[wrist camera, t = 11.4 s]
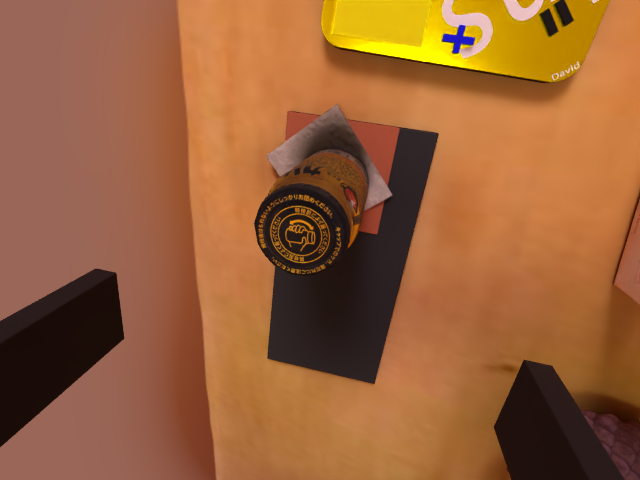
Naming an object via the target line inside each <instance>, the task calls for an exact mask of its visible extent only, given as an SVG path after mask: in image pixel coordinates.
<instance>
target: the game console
mask: <svg viewBox="0 0 640 480" xmlns="http://www.w3.org/2000/svg"><path fill="white" fill-rule="evenodd" d="M609 1H610V0H324V3H323V10H322V17H321V27H322V31H323V34H324V36H325V37H326V39H327V41H328V42H329V43H330V44H332V45H333V46H334V47H336V48H339V49H342V50H348V51H354V52H360V53H366V54H372V55H378V56H384V57H390V58H396V59H402V60H408V61H414V62H420V63H426V64H432V65H438V66H444V67H450V68H456V69H462V70H468V71H474V72H480V73H486V74H492V75H498V76H504V77H510V78H516V79H522V80H528V81H534V82H541V83H551V82H558V81H561V80H564V79H566V78H568V77H570V76H571V75H573V74H574V73H575V72H576V71H577V70H578V69H579V68H580V66H581V65H582V63H583V61H584V59H585V57H586V54H587V52H588V50H589V47H590V45H591V43H592V40H593V38H594V36H595V33H596V31H597V29H598V26H599V24H600V22H601V19H602V17H603V15H604V12H605V10H606V8H607V5H608V3H609Z"/></svg>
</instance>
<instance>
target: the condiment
mask: <svg viewBox="0 0 640 480" xmlns="http://www.w3.org/2000/svg"><path fill="white" fill-rule="evenodd" d="M266 157H267V158H268V160H269V161H270V163H271V164H272V166H273V167H274V168H275V170H276V171H277V173H278V175H279V176H280V177H281V178H280V179H279V180H278V181H277V182H276V183H275V184H274V185H273V187H272V188H271V190H270V192H269V194H268V196H267V197H266V198H265V200H264V201H263V202H262V204H261V205H260V207H259V210H258V213H257V216H256V219H255V223H254V225H255V230H256V236H257V242H258V244H259V246H260V248H261V250H262V251H263V253H264V254H265V256H266V257H267V258H268V259H269V260H270V262H272V264H273V265H275V266H277V267H279V268H281V269H282V270H284V271H285V272H287V273H289V274H293V275H299V276H311V275H316V274H319V273H322V272H324V271H326V270H329V269H331V268H332V267H334V266H335V265H336V264H337V263H338V262H339V261H340V259H341V258H342V257H343V256H344V254H345V252H346V250H347V249H348V248H349V247H350V246H351V245H352V243H353V241H354V240H355V238H356V236H357V234H358V232H359V228H360V226H361V223H362V217H363V214H364V211H365V210H367V209H369V208H371V207H372V206H374V205H376V204H378V203H380V202H381V201H383V200H385V199H387V198H388V197H390V196H392V193H391V192H390V190H389V188H388V187H387V185H386V183H385V182H384V180H383V178H382V177H381V175H380V174H379V172H378V170H377V169H376V167H375V165H374V164H373V162H372V160H371V159H370V157H369V155H368V154H367V152H366V151H365V149H364V147H363V146H362V144H361V143H360V141H359V139H358V138H357V136H356V134H355V133H354V131H353V129H352V128H351V126H350V124H349V123H348V121H347V120H346V118H345V116H344V115H343V113H342V111H341V110H340V108H339V106H338V105H337V104H336V105H335V106H333V107H332V108H330V109H329V110H328V111H327V112H325V113H324V114H322V115H321V116H320V117H318V118H317V119H316V120H314V121H313V122H311V123H310V124H309V125H307V126H306V127H305V128H303V129H302V130H301V131H299V132H298V133H296V134H295V135H294V136H292V137H291V138H290V139H288V140H287V141H285V142H284V143H283V144H281V145H280V146H279V147H277V148H276V149H274V150H273V151H272V152H270V153H269V154H268V155H266Z"/></svg>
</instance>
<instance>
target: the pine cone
mask: <svg viewBox="0 0 640 480" xmlns="http://www.w3.org/2000/svg"><path fill="white" fill-rule="evenodd" d="M581 412H582V413H583V415H584V417H585V418H586V420H587V421H588V423H589V424H590V426H591V427H592V429H593V431H594V432H595V434H596V435H597V437H598V438H599V440H600V442H601V443H602V445H603V446H604V448H605V449H606V451H607V452H608V454H609V456H610V457H611V459H612V460H613V462H614V463H615V465H616V466H617V468H618V470H619V471H620V473H621V474H622V476H623V477H624V479H625V480H640V424H639V423H637V422H635V421H631V420H628V421H620V420H619V419H618V418H617V417H616V416H614V415H612V414H597V413H595V412H593V411H591V410H581ZM506 470H507V471H508V468H507V469H506ZM508 472H509V471H508Z"/></svg>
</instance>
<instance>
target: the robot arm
mask: <svg viewBox="0 0 640 480" xmlns="http://www.w3.org/2000/svg"><path fill="white" fill-rule="evenodd" d="M123 339H124V332H123V324H122V316H121V308H120V300H119V292H118V284H117V275H116V273H115V272H109V271H105V270H101V269H94V270H92V271H90V272H89V273H87V274H85V275H83V276H81V277H80V278H78V279H76V280H74V281H72V282H70V283H69V284H67V285H65V286H63V287H61V288H60V289H58V290H56V291H54V292H52V293H51V294H49V295H47V296H45V297H43V298H42V299H40V300H38V301H36V302H34V303H32V304H31V305H29V306H27V307H25V308H23V309H21V310H20V311H18V312H16V313H14V314H12V315H11V316H9V317H7V318H5V319H3V320H1V321H0V447H1V446H2V445H3V444H4V443H6V442H7V441H8V440H9V439H10V438H11V437H12V436H14V435H15V434H16V433H17V432H18V431H19V430H20V429H22V428H23V427H24V426H25V425H26V424H27V423H28V422H30V421H31V420H32V419H33V418H34V417H35V416H36V415H38V414H39V413H40V412H41V411H42V410H43V409H44V408H45V407H47V406H48V405H49V404H50V403H51V402H52V401H53V400H55V399H56V398H57V397H58V396H59V395H60V394H62V393H63V392H64V391H65V390H66V389H67V388H68V387H69V386H71V385H72V384H73V383H74V382H75V381H76V380H77V379H78V378H80V377H81V376H82V375H83V374H84V373H85V372H87V371H88V370H89V369H90V368H91V367H92V366H93V365H95V364H96V363H97V362H98V361H99V360H100V359H101V358H102V357H104V356H105V355H106V354H107V353H108V352H109V351H111V349H113V348H114V347H115V346H116V345H117V344H118V343H120V342H121V341H122V340H123ZM494 429H495V432H496V435H497V438H498V441H499V444H500V447H501V450H502V453H503V456H504V459H505V462H506V465H507V468H508V471H509V474H510V477H511V480H625V479H624V477H623V476H622V474H621V473H620V471H619V470H618V468H617V466H616V465H615V463H614V462H613V460H612V459H611V457H610V456H609V454H608V452H607V451H606V449H605V448H604V446H603V445H602V443H601V442H600V440H599V438H598V437H597V435H596V434H595V432H594V431H593V429H592V427H591V426H590V424H589V423H588V421H587V420H586V418H585V417H584V415H583V413H582V412H581V410H580V409H579V407H578V406H577V404H576V403H575V401H574V399H573V398H572V396H571V395H570V393H569V392H568V390H567V388H566V387H565V385H564V384H563V382H562V381H561V379H560V378H559V376H558V374H557V373H556V371H555V370H554V368H553V367H552V366H550V365H546V364H541V363H536V362H532V361H527V360H524V361H523V363H522V365H521V368H520V370H519V372H518V374H517V377H516V379H515V381H514V383H513V385H512V388H511V390H510V392H509V394H508V397H507V399H506V401H505V403H504V405H503V408H502V410H501V412H500V414H499V417H498V419H497V421H496V423H495V425H494Z"/></svg>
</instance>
